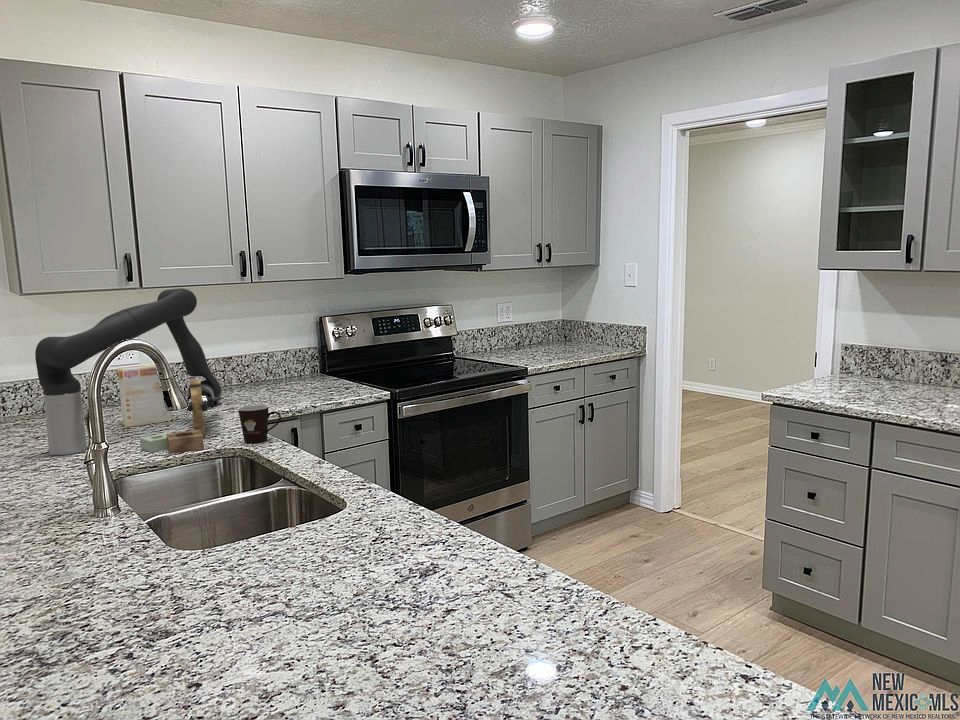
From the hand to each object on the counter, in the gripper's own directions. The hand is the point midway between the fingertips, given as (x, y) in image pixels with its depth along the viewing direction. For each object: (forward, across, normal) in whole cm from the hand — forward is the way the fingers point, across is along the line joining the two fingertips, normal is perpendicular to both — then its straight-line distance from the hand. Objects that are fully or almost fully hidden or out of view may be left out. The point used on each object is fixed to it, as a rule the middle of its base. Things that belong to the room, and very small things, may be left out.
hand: (196, 407), depth 214 cm
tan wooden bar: (-3, 0, +10) cm, 10 cm away
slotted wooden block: (+9, -3, +10) cm, 14 cm away
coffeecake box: (-37, -19, +10) cm, 43 cm away
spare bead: (+5, -11, +10) cm, 16 cm away
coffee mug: (+9, +17, +10) cm, 22 cm away
